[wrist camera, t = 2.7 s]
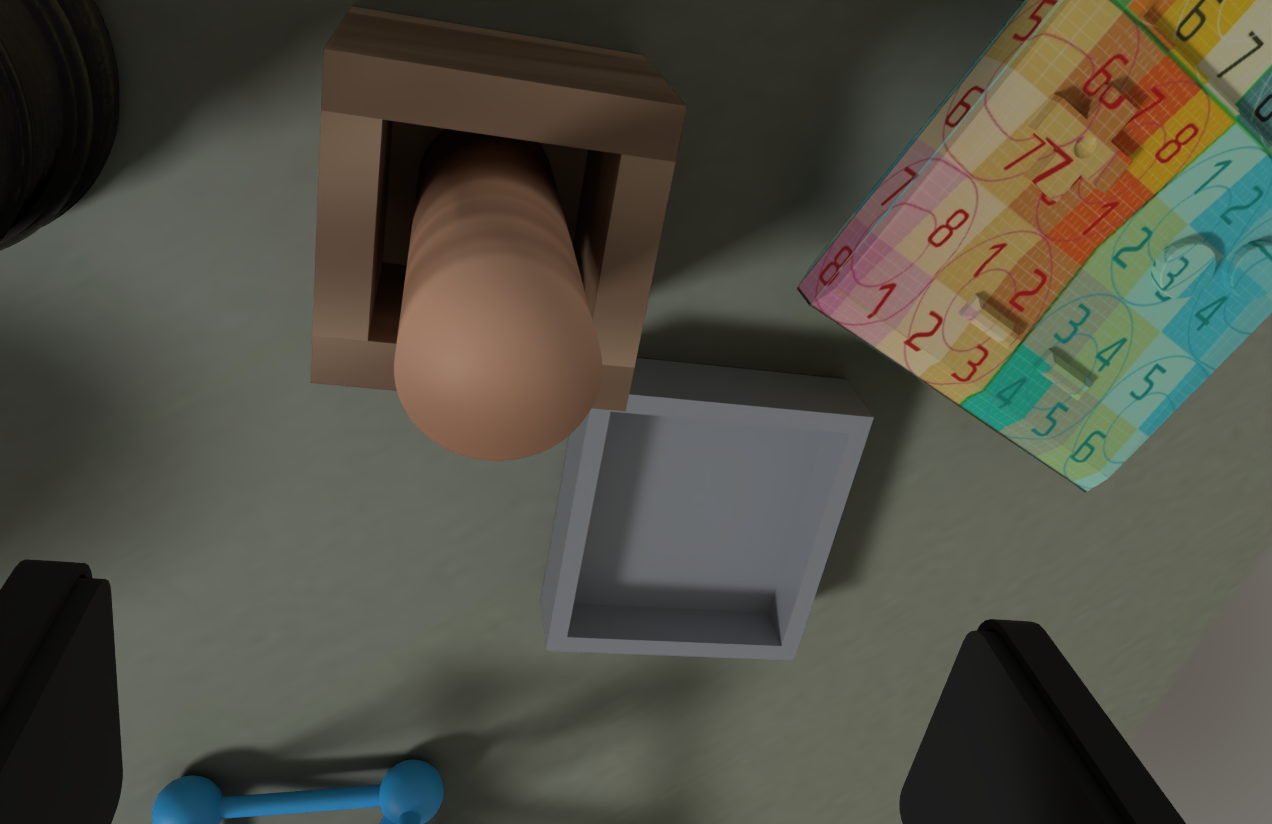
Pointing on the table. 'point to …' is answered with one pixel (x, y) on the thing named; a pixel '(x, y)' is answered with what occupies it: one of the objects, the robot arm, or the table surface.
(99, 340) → the table surface
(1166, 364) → the puzzle game
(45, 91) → the container
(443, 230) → the dowel
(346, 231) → the pin cup
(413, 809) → the molecular structure
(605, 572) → the tray
